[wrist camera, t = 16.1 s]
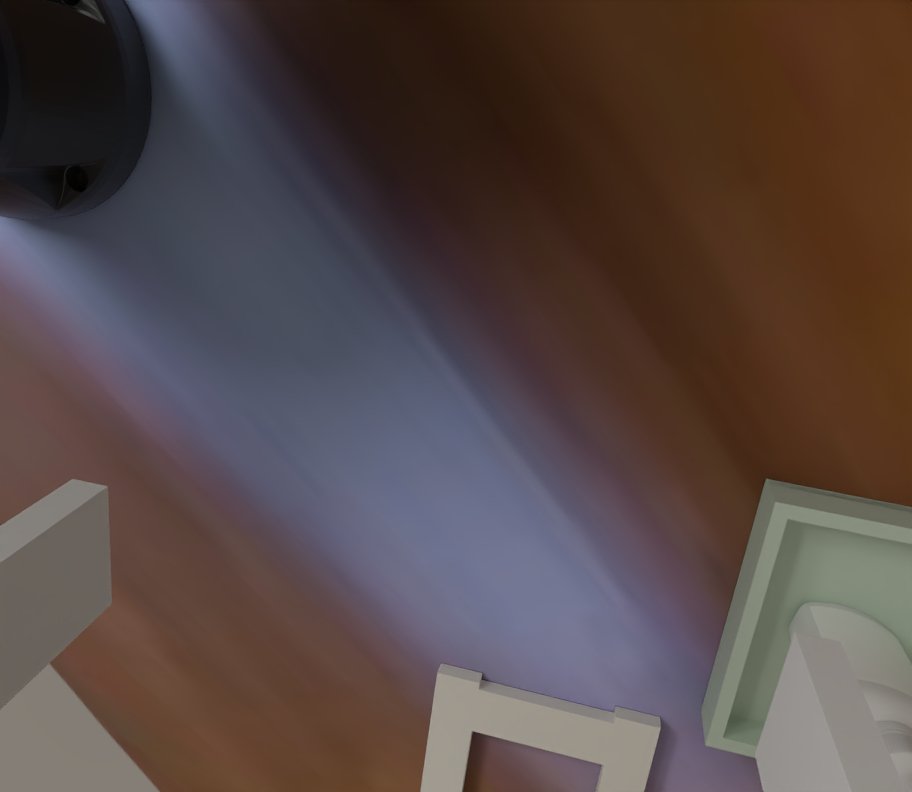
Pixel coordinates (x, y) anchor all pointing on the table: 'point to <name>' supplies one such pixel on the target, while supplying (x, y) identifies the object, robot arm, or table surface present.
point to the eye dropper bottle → (870, 671)
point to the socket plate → (533, 731)
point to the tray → (803, 594)
